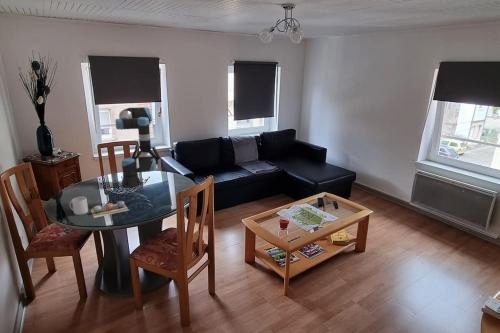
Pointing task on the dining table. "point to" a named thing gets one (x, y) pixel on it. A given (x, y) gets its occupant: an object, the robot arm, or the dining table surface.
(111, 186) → the dining table surface
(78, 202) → the mug
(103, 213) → the button board
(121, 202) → the button slate
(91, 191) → the dining table surface
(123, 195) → the dining table surface
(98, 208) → the button sage
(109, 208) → the button terracotta
